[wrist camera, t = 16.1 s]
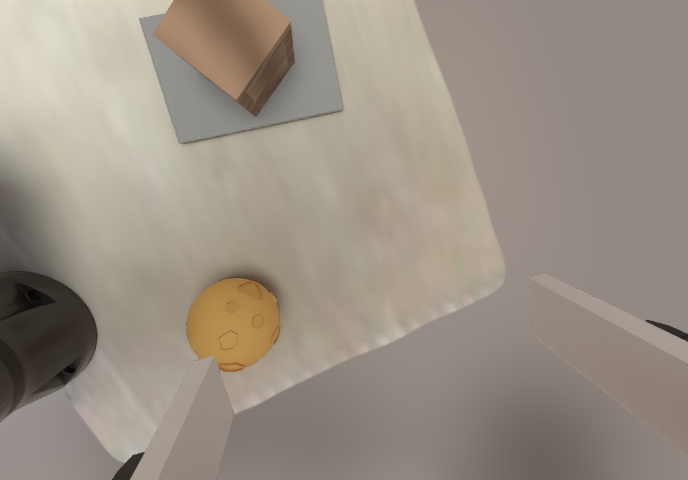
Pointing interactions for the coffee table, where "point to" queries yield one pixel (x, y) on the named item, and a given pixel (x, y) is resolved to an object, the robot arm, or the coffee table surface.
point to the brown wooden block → (232, 45)
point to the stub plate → (284, 104)
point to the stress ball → (233, 323)
